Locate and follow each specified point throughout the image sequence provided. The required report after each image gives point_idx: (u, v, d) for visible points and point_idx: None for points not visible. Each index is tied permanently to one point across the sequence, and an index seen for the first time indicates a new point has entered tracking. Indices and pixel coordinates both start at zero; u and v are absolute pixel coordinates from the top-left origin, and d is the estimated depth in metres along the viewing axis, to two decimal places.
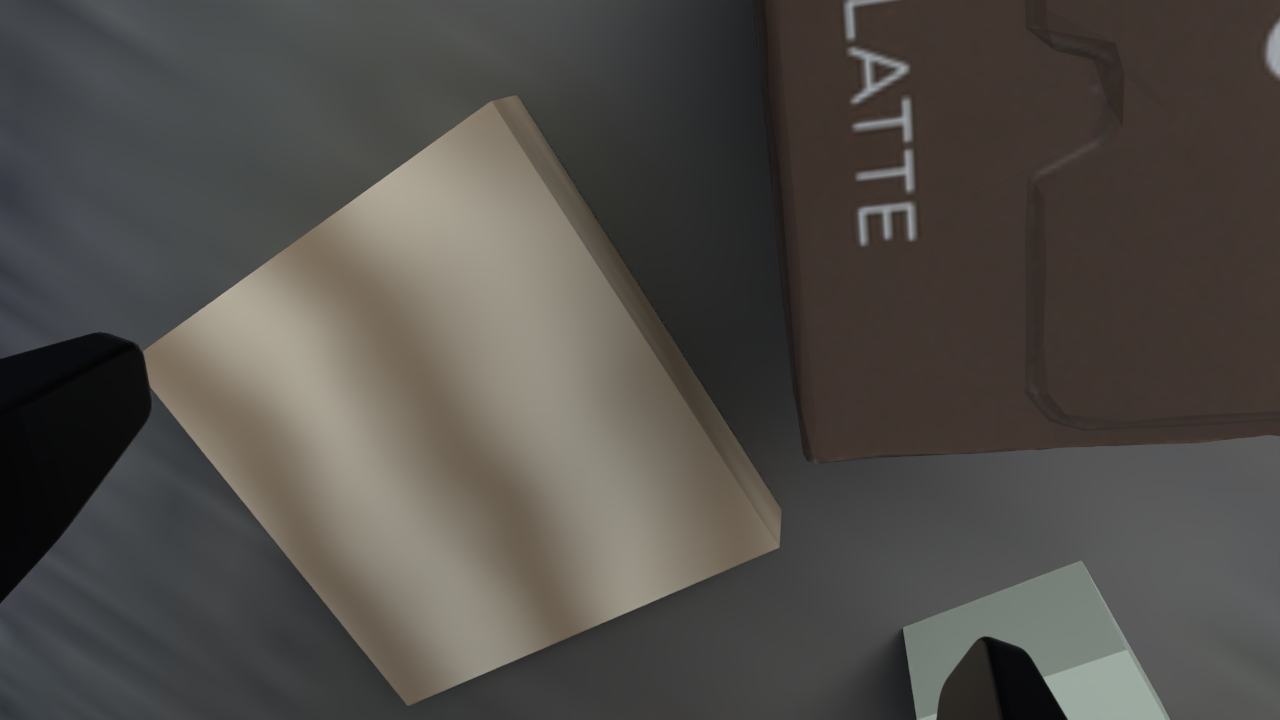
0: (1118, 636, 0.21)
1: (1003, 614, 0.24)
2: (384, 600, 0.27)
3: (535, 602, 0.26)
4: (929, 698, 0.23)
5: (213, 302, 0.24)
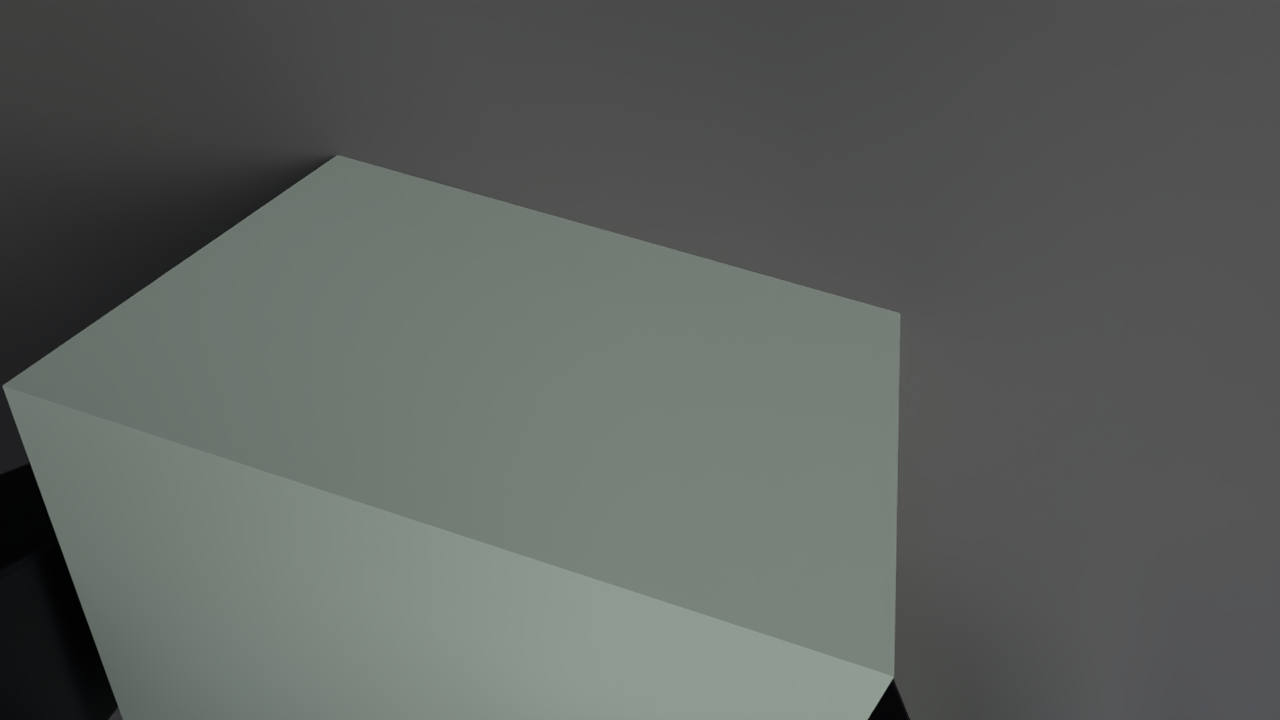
0: (889, 600, 0.05)
1: (596, 294, 0.07)
2: None
3: None
4: (137, 352, 0.06)
5: None
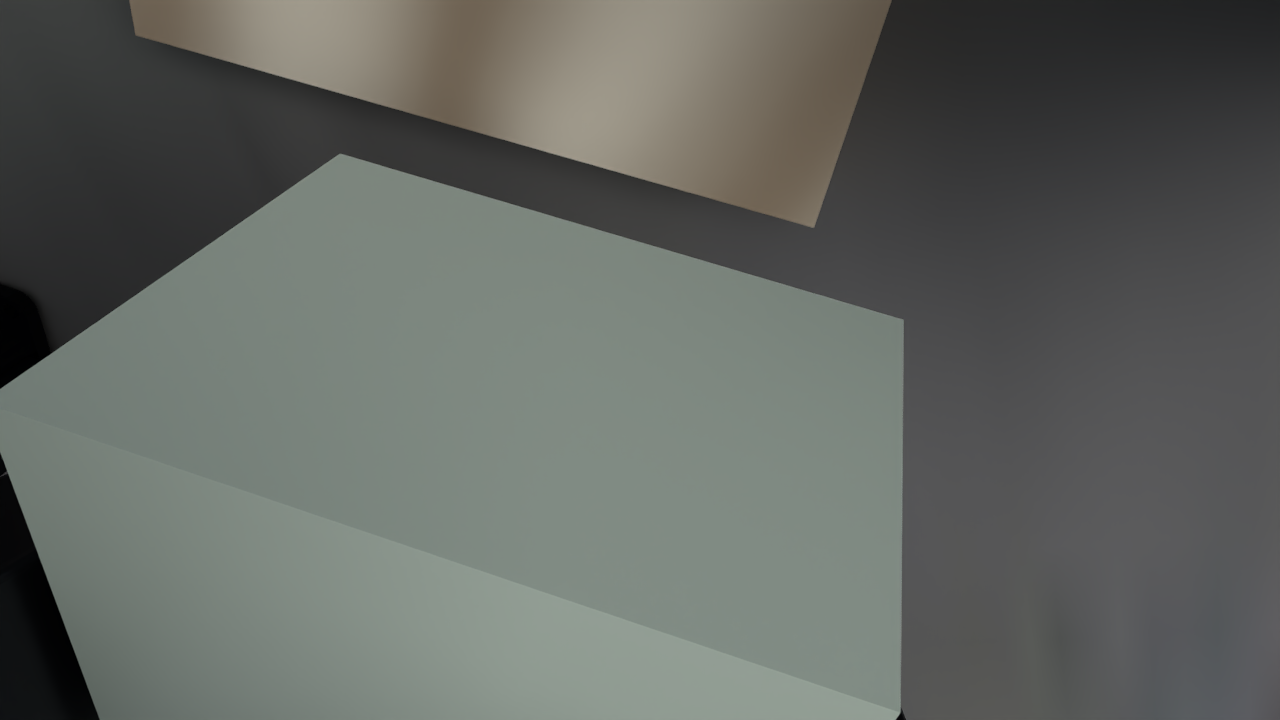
0: (895, 632, 0.05)
1: (596, 307, 0.07)
2: None
3: (438, 41, 0.16)
4: (122, 366, 0.05)
5: None
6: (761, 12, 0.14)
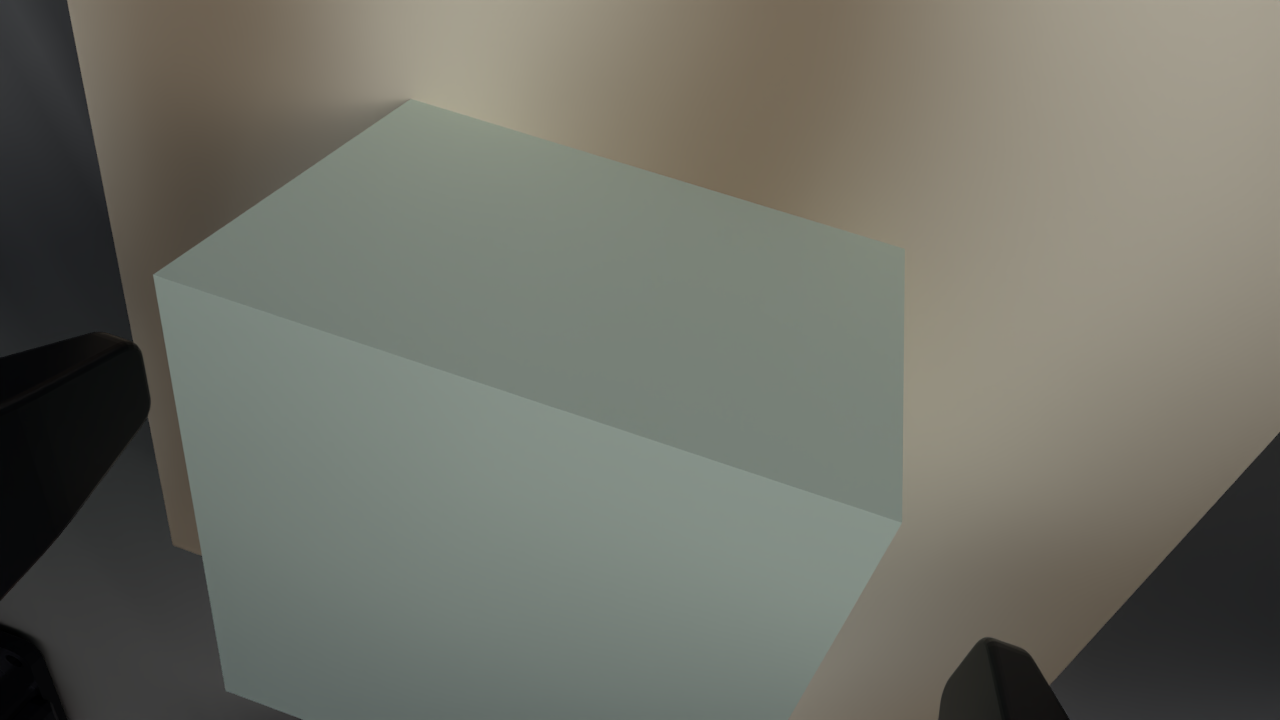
0: (898, 469, 0.06)
1: (642, 228, 0.08)
2: None
3: None
4: (259, 254, 0.07)
5: None
6: (893, 668, 0.12)
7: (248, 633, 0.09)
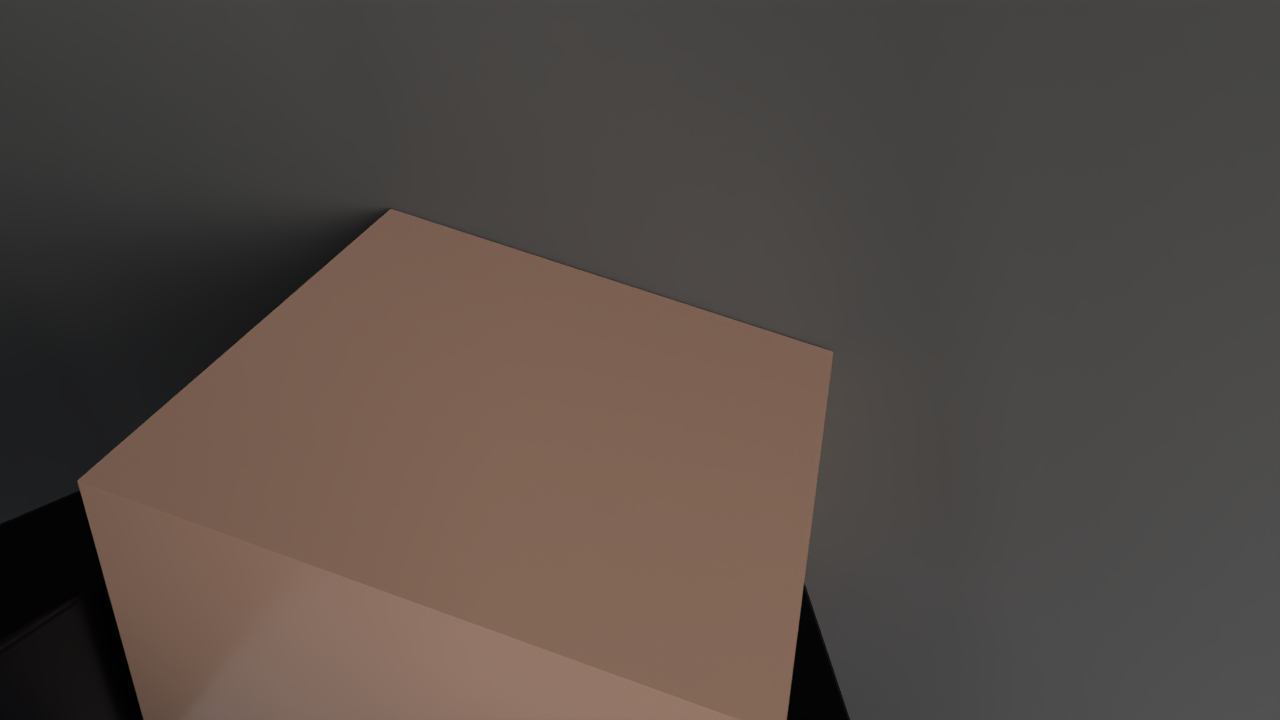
0: None
1: None
2: None
3: None
4: None
5: None
6: None
7: None
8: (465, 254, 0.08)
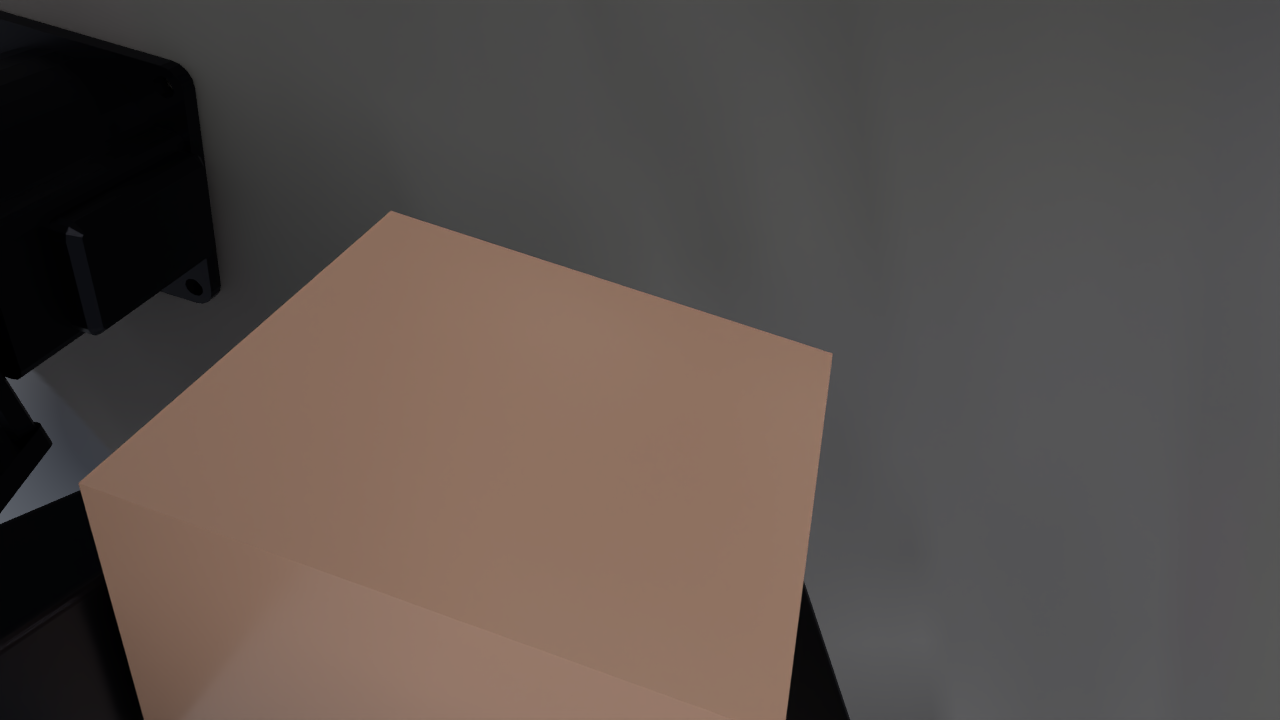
0: None
1: None
2: None
3: None
4: None
5: None
6: None
7: None
8: (465, 256, 0.08)
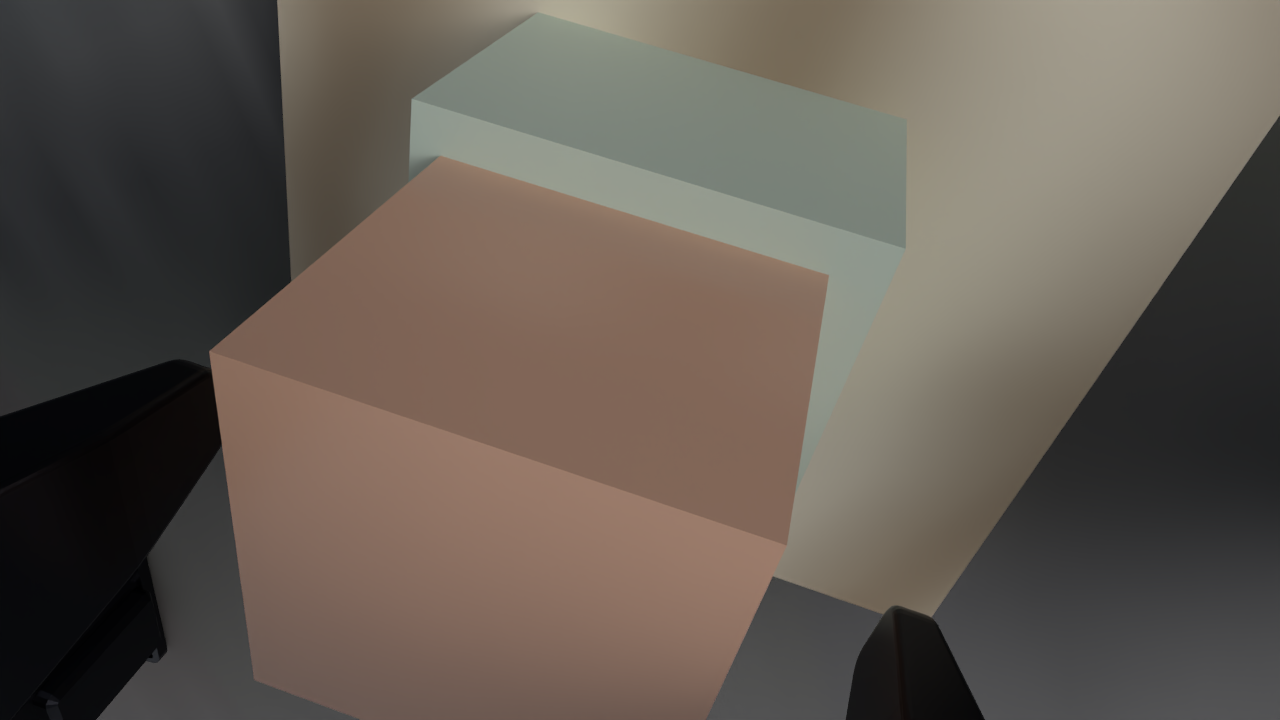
0: (902, 226, 0.09)
1: (717, 96, 0.11)
2: None
3: None
4: (471, 93, 0.10)
5: None
6: (896, 484, 0.16)
7: None
8: (507, 192, 0.09)
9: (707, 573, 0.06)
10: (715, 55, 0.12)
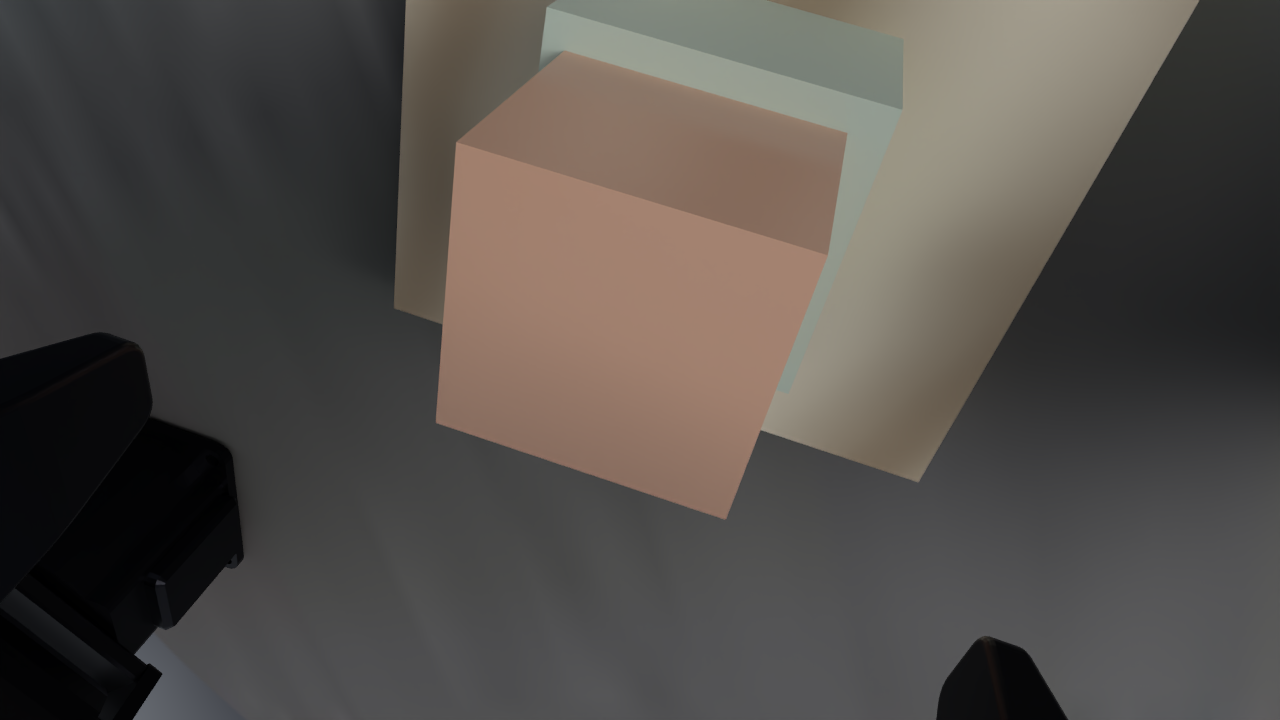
0: (900, 98, 0.13)
1: (760, 16, 0.15)
2: None
3: None
4: (586, 5, 0.13)
5: None
6: (895, 350, 0.19)
7: None
8: (616, 73, 0.13)
9: (775, 283, 0.10)
10: None
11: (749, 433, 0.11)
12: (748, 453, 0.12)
